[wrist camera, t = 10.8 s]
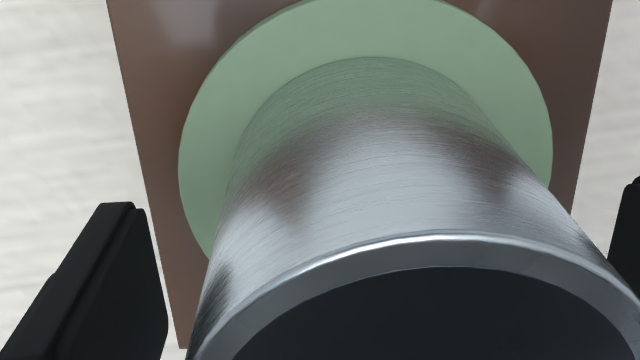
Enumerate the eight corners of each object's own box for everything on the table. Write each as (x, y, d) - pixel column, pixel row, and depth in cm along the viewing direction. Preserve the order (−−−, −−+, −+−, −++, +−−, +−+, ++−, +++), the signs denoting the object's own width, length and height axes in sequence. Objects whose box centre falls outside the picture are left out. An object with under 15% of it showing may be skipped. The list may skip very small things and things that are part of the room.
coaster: (572, -23, 12) (585, -19, 11) (519, 305, 16) (527, 319, 16) (151, -3, 12) (144, 2, 11) (207, 322, 16) (205, 337, 15)
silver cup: (513, 48, 12) (747, 218, 6) (484, 285, 15) (617, 567, 9) (215, 62, 12) (124, 250, 6) (246, 298, 15) (207, 591, 9)
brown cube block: (470, -92, 22) (628, -76, 11) (450, 158, 27) (548, 330, 16) (193, -80, 22) (93, -52, 11) (226, 169, 27) (178, 350, 16)
